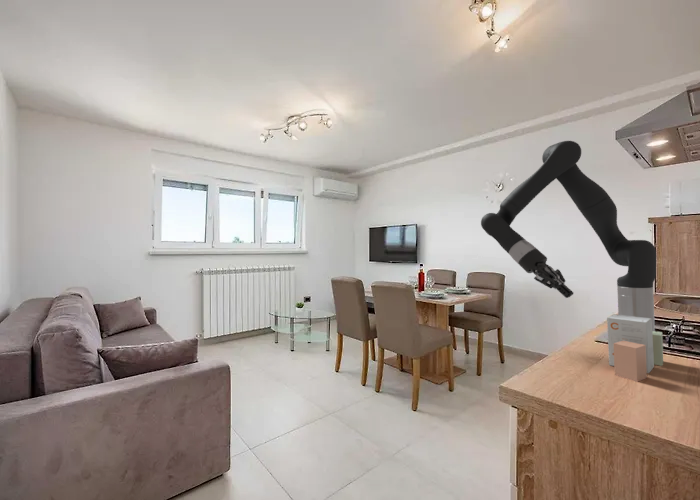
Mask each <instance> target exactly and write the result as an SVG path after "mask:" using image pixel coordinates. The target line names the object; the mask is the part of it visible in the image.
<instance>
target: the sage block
mask: <svg viewBox="0 0 700 500" xmlns="http://www.w3.org/2000/svg"><path fill="white" fill-rule="evenodd" d="M652 334H653V354H654V366H655V365H656V366H660V367H663V365H664V344H663V343H664V342H663V338H664V337H663V332H662V331H656V330H655V331H652Z"/></svg>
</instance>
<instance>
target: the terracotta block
mask: <svg viewBox="0 0 700 500" xmlns="http://www.w3.org/2000/svg"><path fill="white" fill-rule="evenodd" d="M613 367H614V376H615V377H616V376H617V377H618V378H619V377H620V378H623V379H627V380H630V381H633V382H636V383H638V382H640V381H643V380H645V379H647V377H648V376H647V375H648V373H647V369H646V345H643V344H638V343H633V342H628V341H620V342H617V343H614V366H613Z"/></svg>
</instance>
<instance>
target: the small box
mask: <svg viewBox="0 0 700 500" xmlns="http://www.w3.org/2000/svg"><path fill="white" fill-rule="evenodd" d="M606 321H607V323H606V324H607V326H606V327H607V345H608V346H607V347H608V364H609V366H612V367H614V343H617V342H620V341H628V342H633V343H638V344H643V345H646V369H647V374H650V372H651V371H652V370H653V368H654V367H655V365H654V354H653V334H652V318H644V317H635V316H625V315H618V314H615V313H613V314H611V315H610V316H608V317H607V318H606Z"/></svg>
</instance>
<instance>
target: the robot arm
mask: <svg viewBox="0 0 700 500" xmlns="http://www.w3.org/2000/svg"><path fill="white" fill-rule="evenodd" d="M581 156H582V148H581V146H580V144H579V143H578V142H577V141H573V140H564V141H559V142H557V143H554V144H552V145H550V146H548V147H547V148H546V149H544V151H543V153H542V158H541V159H542V163H543V164H542V165H540V167H539V168H538V169H537V170H536V171H535V172H534V173H533V174H531V176H529V177H528V178H527V179H525V180H524V181H523V182H522V183H520V184H519V185H518V186H517V187H516V188H514V189H513V190H512V191H511V192H510V193H509V194H508V195H507V196H506V197H505V198H504V199H503V200H502V201H501V203H500V204H499V205H500V206H499V210H498V211H497V212H496V213H494V212H489V213H486V214H484V215H483V216H482V218H481V220H480V226H481V228H482V229H483V230H484V232H485V233H486V234H487V235H488V236H490V237H492V238H493V239H494V240H495V241H496V242H497V243H498V244H499V246H500V247H501V248H502V249H503V250H504V251H505V252H506V253H507V254H508V255H509V256H510V257H511V258H512V259H513V261H515V262H516V263H517V264H518V265H519V266H520V267H521V268H522V269H523V270H524V271H525V272H526V273H528V274H532V273H533V274H534V275H535V276H534V277H533V279H534V280H535V281H536V282H538V283H540V284H542V285H544V286H546V287H547V288H549V289H553V290H557V291H558V292H559V293H560V294H561V295H562V297H564V298H565V299H567V298H568V299H569V298H571V296H573V295H574V291H572V290H571V289H570V288H569V287H568V286H567V285H566V284H565V283H566V279H565V277H564V276H563V274H562V272H561V270H560V269H557V268H556V270H555V269H554V268H553V267H552V266H550V265H549V264H547V261H548V257H547V256H546V255H545V254H543V253H542V252H541V251H540V250H539V248H537V247H536V246H535V245H533V244H532V243H531V242H529V241H528V240H526V239H525V238H524V237H523V236H522V235H521V234H519V233H518V232H517V231H515V229H513V228H512V227H511V224H512V223H513V222H514V220H515V219H516V217H517V216H518V215H519V214H520V213H521V212H522V211H523V210H524V209H525V208H527V206H528V205H529V204H530V203H531V202H532V201H533V200H534V199H535V198H536V197H537V196H538V195H539V194H540V193H541V192H542V191H543V190H544V189H546V188H547V187H548V186H549V185H550V184H551V183H553V182H554V181H555V180H557V181H558V182H559V183H560V184H561V185H562V187H563V188H564V190H565V192H566V193H567V195H568V196H569V198H570V199H571V200H572V201H573V203H574V205H575V206H576V208H577V209H578V210H579V212H580V213H581V215H582V216H583V217H584V218H585V220H586V221H587V222H588V223H589V225H590V226H591V228H592V230H594V232H595V234H596V236H597V237H598V238H599V240H600V241H601V243H602V245H603V246H604V248H605V251H606V252H607V254H608V256H609V258H610V259H611V260H612V261H613V262H614V263H615V264H616V265H618V266H622V267H627V273H626V274H625V275H623V276H619V277H618V278H617V280H616V285H617V286H616V287H617V291H616V292H617V315H625V316H635V317H644V318H652V331H656V327H655V324H656V323H655V299H654V297H655V296H654V281H656V280H655V279H656V278H657V277H656V276H657V250H656V248H655V245H654V244H653V243H652V242H650V241H649V240H646V239H628V238H627V237H625V235H624V234H623V233H622V231H621V230H620V228H619V226H618V221H617V220H618V209H617V206H616V205H617V204H615V202H614V200H613V199H612V198H611V197H610V195H609V193H608V192H607V191H606V190H605V189H604V188H603V187H602V186H600V185H599V184H598V183H597V182H596V181H594V180H593V179H591V178H590V177H589V176H587V175H586V174H585V173H583V171H582V170H581V169H580V168H579V166H578V164H577V163H578V162H579V160H580V158H581Z"/></svg>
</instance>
